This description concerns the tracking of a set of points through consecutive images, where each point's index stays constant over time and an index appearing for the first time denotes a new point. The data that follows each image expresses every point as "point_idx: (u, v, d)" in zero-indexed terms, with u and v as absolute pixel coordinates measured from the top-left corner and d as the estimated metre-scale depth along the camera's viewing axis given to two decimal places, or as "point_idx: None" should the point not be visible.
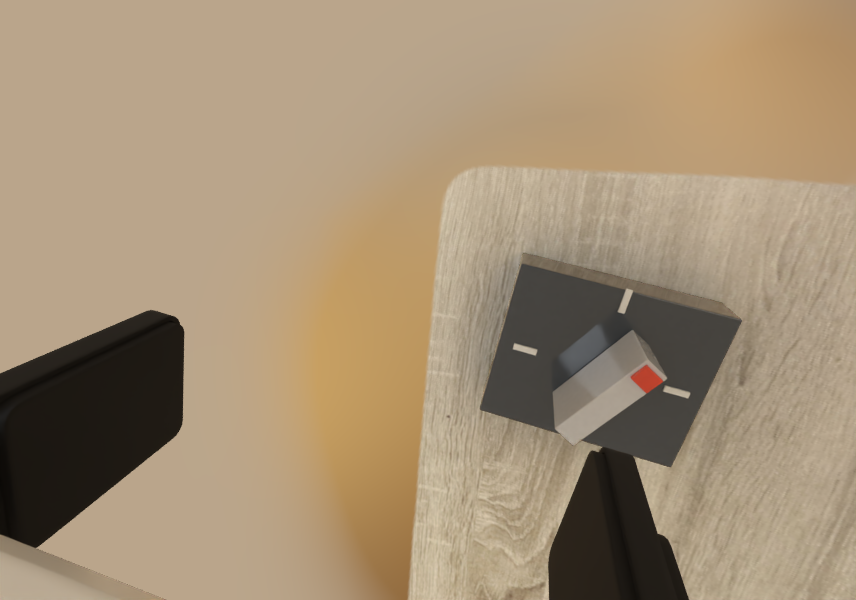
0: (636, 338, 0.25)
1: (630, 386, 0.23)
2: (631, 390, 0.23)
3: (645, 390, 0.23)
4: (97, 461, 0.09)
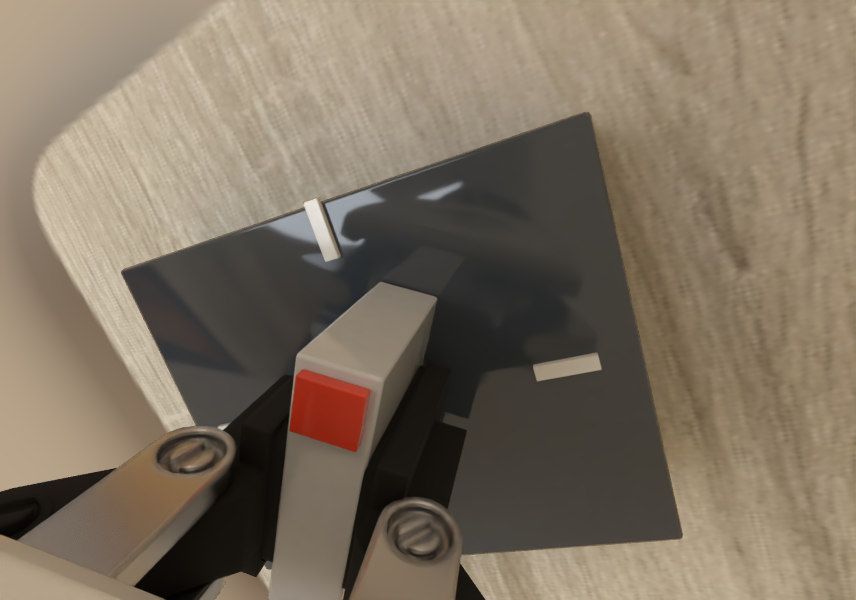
0: (361, 299, 0.09)
1: (318, 447, 0.07)
2: (330, 458, 0.07)
3: (345, 445, 0.07)
4: None
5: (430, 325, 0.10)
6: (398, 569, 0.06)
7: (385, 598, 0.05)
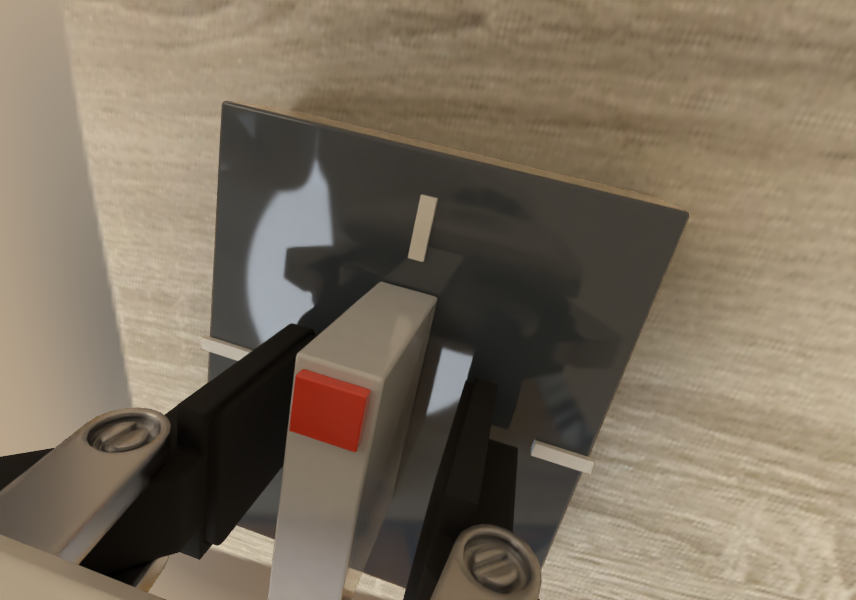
0: (361, 299, 0.09)
1: (318, 446, 0.07)
2: (329, 457, 0.07)
3: (345, 445, 0.07)
4: (261, 464, 0.10)
5: (430, 325, 0.10)
6: (472, 598, 0.06)
7: None
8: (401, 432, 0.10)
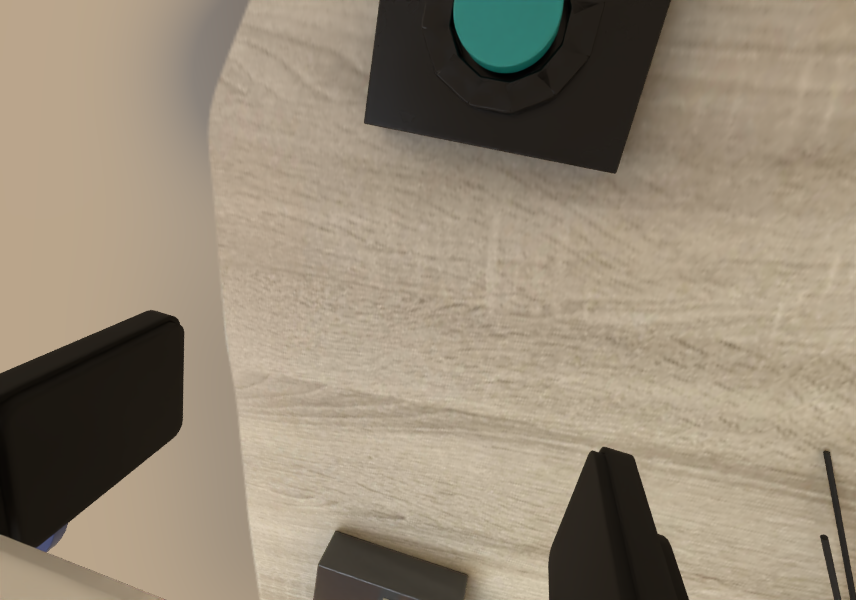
0: None
1: None
2: None
3: None
4: (97, 461, 0.09)
5: None
6: None
7: None
8: None
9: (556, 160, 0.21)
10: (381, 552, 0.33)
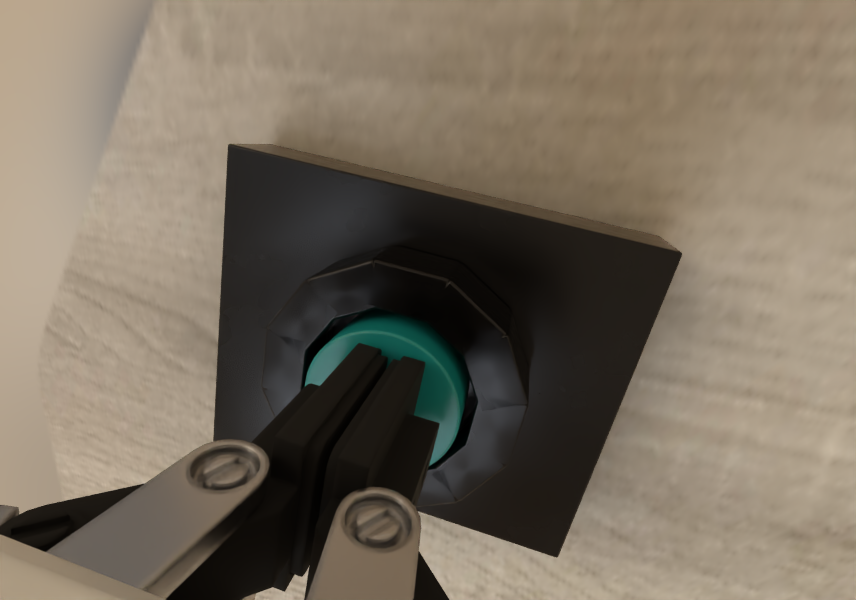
0: None
1: None
2: None
3: None
4: None
5: None
6: (358, 559, 0.06)
7: (335, 585, 0.05)
8: None
9: (474, 529, 0.15)
10: None
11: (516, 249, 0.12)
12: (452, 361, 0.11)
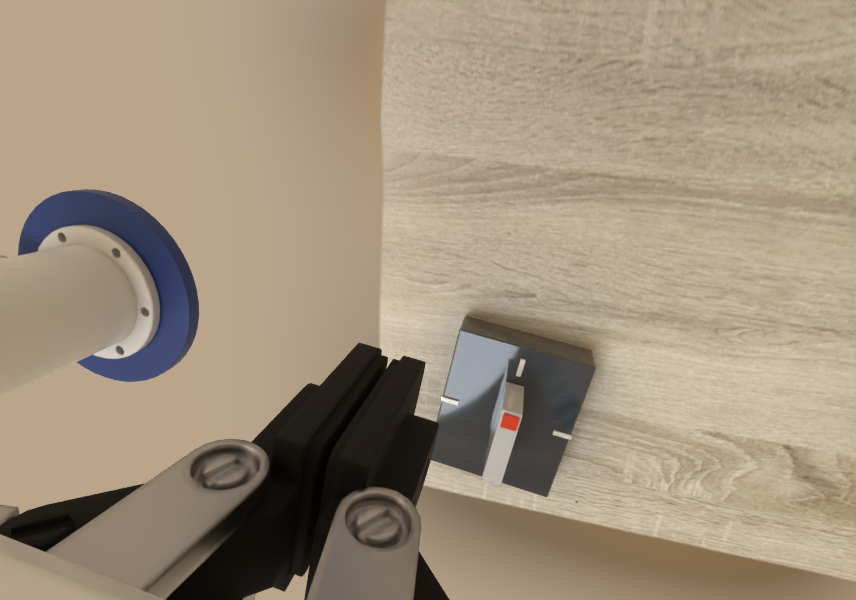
0: (505, 390, 0.34)
1: (504, 430, 0.31)
2: (507, 433, 0.31)
3: (513, 429, 0.31)
4: None
5: None
6: (357, 559, 0.06)
7: (335, 585, 0.05)
8: None
9: None
10: (511, 330, 0.36)
11: None
12: None
